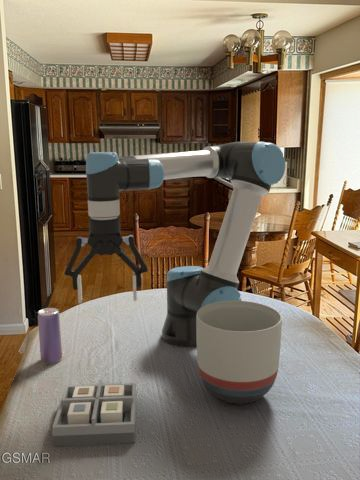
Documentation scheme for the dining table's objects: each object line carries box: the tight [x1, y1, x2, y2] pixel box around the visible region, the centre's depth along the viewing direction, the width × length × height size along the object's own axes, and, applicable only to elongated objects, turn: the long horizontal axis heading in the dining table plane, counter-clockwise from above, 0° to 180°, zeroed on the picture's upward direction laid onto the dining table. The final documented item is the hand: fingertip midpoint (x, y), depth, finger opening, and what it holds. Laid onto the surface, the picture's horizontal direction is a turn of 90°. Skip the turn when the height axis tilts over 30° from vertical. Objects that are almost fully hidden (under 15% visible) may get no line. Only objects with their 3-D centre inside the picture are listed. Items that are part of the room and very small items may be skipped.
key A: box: [103, 385, 124, 397], centre depth 112 cm, size 4×4×3 cm
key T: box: [67, 402, 92, 425], centre depth 104 cm, size 4×4×3 cm
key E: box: [72, 386, 95, 398], centre depth 111 cm, size 4×4×3 cm
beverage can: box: [37, 307, 63, 365], centre depth 137 cm, size 6×6×15 cm
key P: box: [101, 401, 123, 423], centre depth 105 cm, size 4×4×3 cm
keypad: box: [51, 379, 137, 447], centre depth 109 cm, size 17×18×6 cm
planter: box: [196, 300, 283, 405], centre depth 117 cm, size 20×20×21 cm
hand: (107, 300), depth 120 cm, fingers open, 13 cm apart
